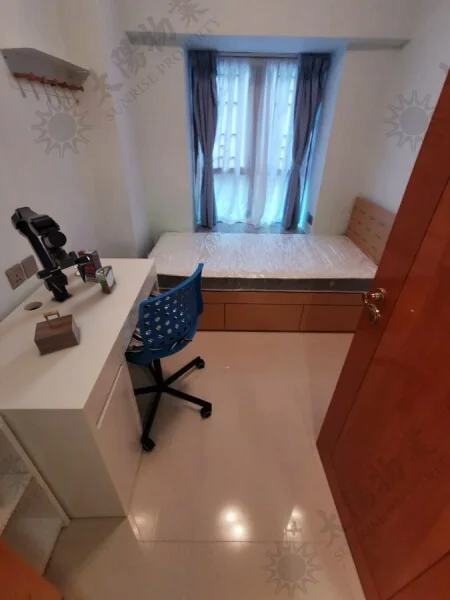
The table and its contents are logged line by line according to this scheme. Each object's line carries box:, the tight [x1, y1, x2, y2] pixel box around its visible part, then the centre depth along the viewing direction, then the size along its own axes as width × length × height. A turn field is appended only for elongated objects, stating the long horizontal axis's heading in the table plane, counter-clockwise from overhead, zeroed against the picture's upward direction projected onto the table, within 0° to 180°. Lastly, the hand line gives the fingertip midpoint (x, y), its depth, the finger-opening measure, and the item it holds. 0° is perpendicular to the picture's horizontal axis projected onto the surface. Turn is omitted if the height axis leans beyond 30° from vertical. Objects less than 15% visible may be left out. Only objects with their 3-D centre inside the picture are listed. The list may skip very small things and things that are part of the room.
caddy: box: [34, 317, 80, 356], centre depth 105 cm, size 10×12×6 cm
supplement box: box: [76, 248, 103, 283], centre depth 144 cm, size 9×5×16 cm, turn 71°
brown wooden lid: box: [33, 309, 74, 343], centre depth 103 cm, size 11×12×5 cm
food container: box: [96, 264, 117, 294], centre depth 136 cm, size 12×6×10 cm, turn 5°
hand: (73, 287), depth 111 cm, fingers open, 9 cm apart
